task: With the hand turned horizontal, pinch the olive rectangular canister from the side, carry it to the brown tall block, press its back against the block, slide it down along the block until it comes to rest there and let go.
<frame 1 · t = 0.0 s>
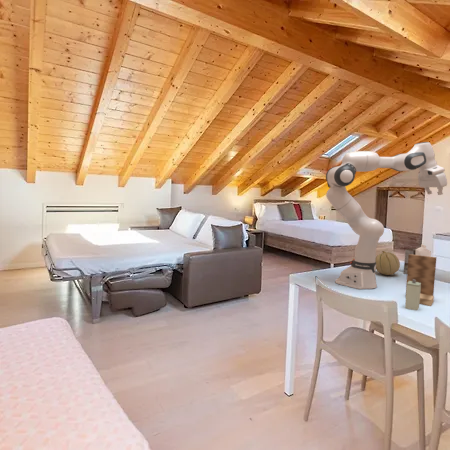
hand: (435, 194, 191), 52 cm above the table, tool tilted 20°, fingers open, 8 cm apart
cantaloupe: (386, 274, 219), on the table
olive rectangular canister: (412, 307, 161), on the table
brown tall block: (419, 298, 175), on the table
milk: (420, 281, 205), on the table
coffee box: (411, 274, 222), on the table
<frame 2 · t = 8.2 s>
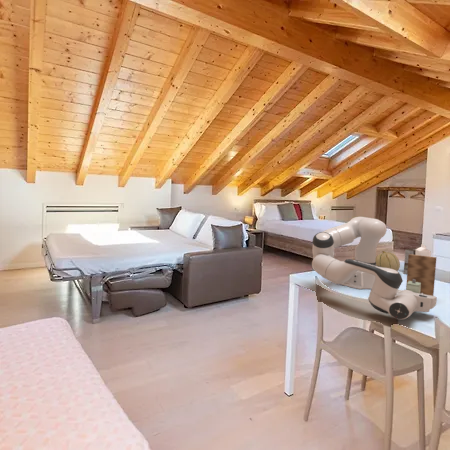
hand: (413, 292, 161), 7 cm above the table, tool horizontal, fingers closed on olive rectangular canister, 5 cm apart
olive rectangular canister: (412, 307, 161), on the table, touching gripper
everything else where it was.
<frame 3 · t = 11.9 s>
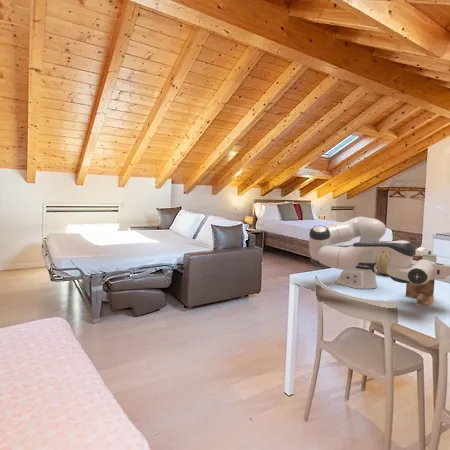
hand: (428, 263, 168), 19 cm above the table, tool horizontal, fingers closed on olive rectangular canister, 5 cm apart
olive rectangular canister: (427, 278, 168), point 12 cm above the table, touching gripper, brown tall block
everything else where it was.
when the fingers open (10 cm above the table, at t = 14.3 s): olive rectangular canister stays where it is, resting on brown tall block.
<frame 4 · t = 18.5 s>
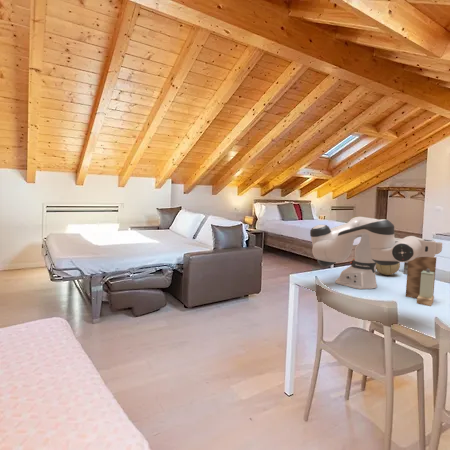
hand: (417, 242, 153), 32 cm above the table, tool horizontal, fingers open, 8 cm apart
olive rectangular canister: (426, 295, 169), point 3 cm above the table, touching brown tall block
everything else where it was.
at the end: olive rectangular canister inside the target area (0.8 cm from its centre), point 3.0 cm above the table; olive rectangular canister tilted 0°; the gripper is holding nothing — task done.
